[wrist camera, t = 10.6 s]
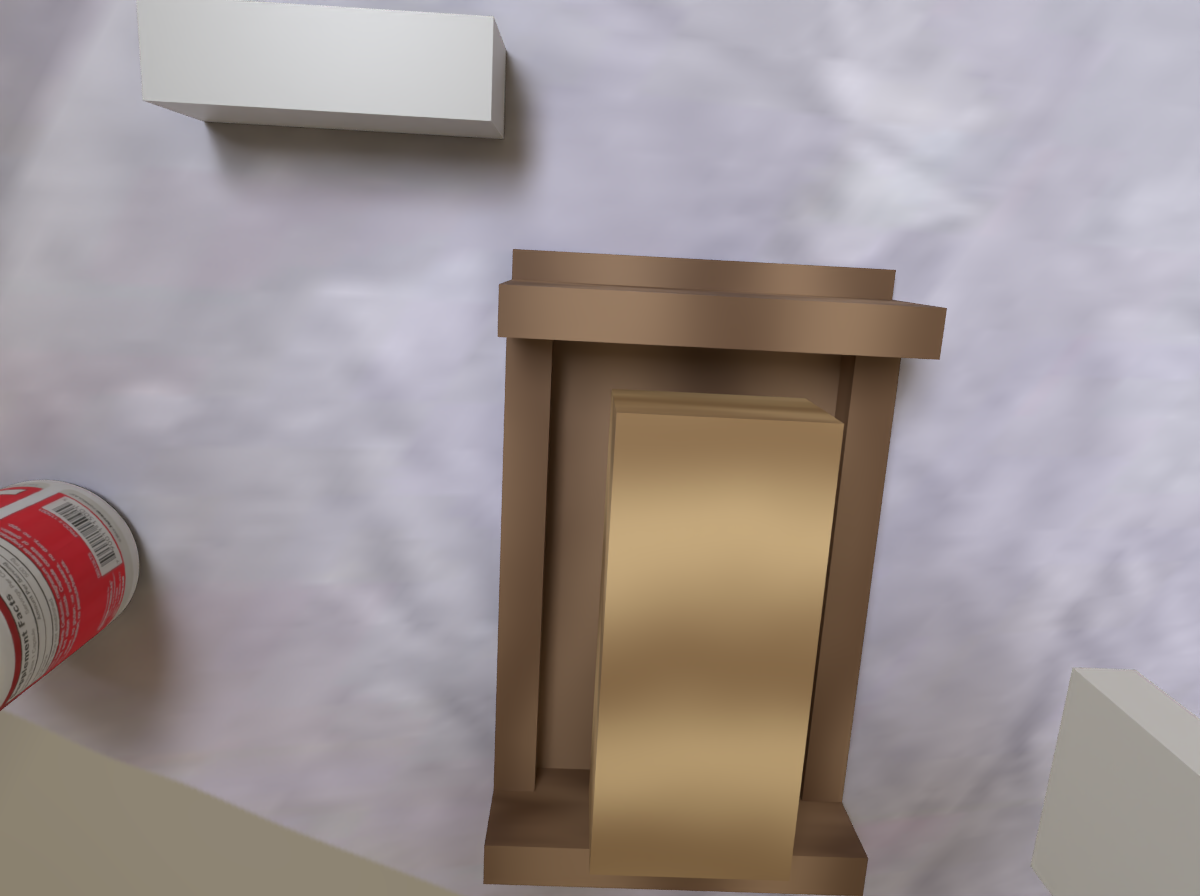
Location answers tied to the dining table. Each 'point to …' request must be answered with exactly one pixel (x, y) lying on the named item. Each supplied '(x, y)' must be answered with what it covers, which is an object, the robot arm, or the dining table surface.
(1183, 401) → the dining table surface
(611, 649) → the plank
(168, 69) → the stand
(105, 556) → the pill bottle
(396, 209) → the dining table surface
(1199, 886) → the robot arm
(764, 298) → the peg frame
